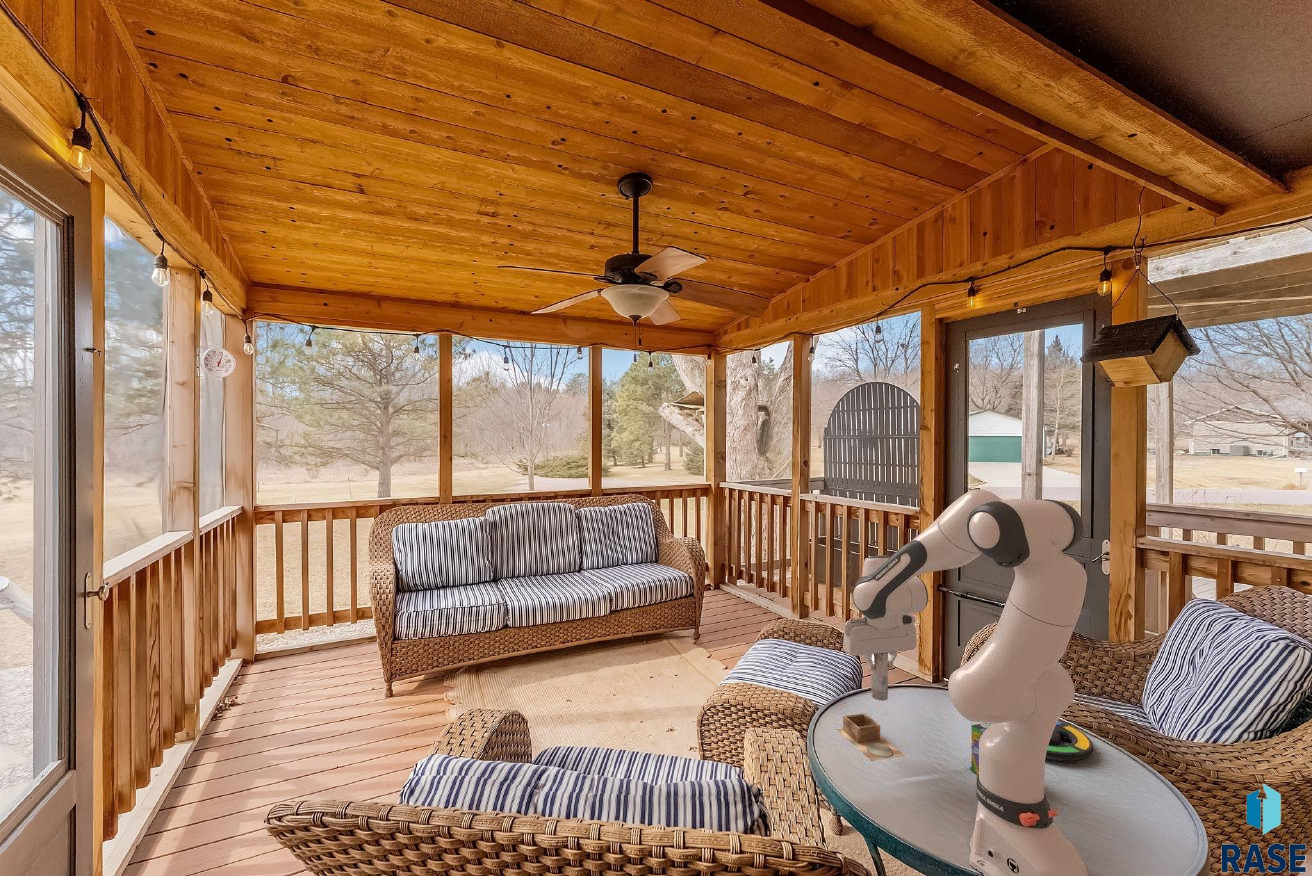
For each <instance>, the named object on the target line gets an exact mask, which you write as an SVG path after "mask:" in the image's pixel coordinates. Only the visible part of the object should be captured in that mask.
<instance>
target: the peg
mask: <svg viewBox="0 0 1312 876" xmlns="http://www.w3.org/2000/svg"><path fill="white" fill-rule="evenodd" d="M888 655H889V653H888V652H887V653H878V654H872V658H871V662H873V663H875V670H871V698H872V699H874V700H878V701H883V702H884V701H887V700H889V691H888V690H889V668H888Z"/></svg>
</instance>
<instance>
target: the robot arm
mask: <svg viewBox="0 0 1312 876" xmlns="http://www.w3.org/2000/svg"><path fill="white" fill-rule="evenodd" d="M1084 531H1085V526H1084V522H1083V519H1082V517H1081V515H1080V514H1079V513H1078V511H1077V510H1076V509H1075V508H1074V507H1073V506H1071V505H1070V504H1067V503H1065V502H1063V501H1060V500H1054V499H1049V498H1048V499H1047V498H1046V499H1045V498H1043V499H1027V498H1013V499H1005V500H1002V499H1001V498H1000V497H999V495H997V494H995V493H993V492H991V491H989V490H986V489H971V490H969V491H967V492H966V493H964V494H962V495H961V496H960V497H958V498H957V499H956V500H955V501H953V502H952V503H951V504H949V506H948V507H946V508H945V509H944V510H943V512H941V514H940V515H939V516H938V517H937V518H936V519H935V520H934V521H933V522H932V523H931V524H930V525H929V526H928V527H927V528H926V529H924V530H923V531H922V532H921V533H920V534H918V535H917V536H916V537H914V538H913V539H912V540H910V541H909V542H907V543H906V544H904V545H903V546H901V548H899V549H898V550H896V552H894V553H893V554H892V555H888V554H885V555H883V554H882V555H870V556H867V557H866V558H865V559H864V561H863V566H862V572H861V573H862V574H861V577H860V578H858V579H857V581H856V583H855V584H854V587H853V590H852V601H853V604H854V606H855V608H856V609H857V610H858V611H859V613H861V617H857V618H849V619H848V620H847V621H846V622H845V624H844V634H843V641H842V648H843V651H844V652H845V653H846V654H847V655H849V656H851V657H857V656H862V657H863V659H864V661H865V662H866V670H868V671H871V672H872V670H875V663H873V662H872V654H878V653H887V652H888V669H893V668H894V662H895V660H896V658H897V657H898V652H906V651H913V650H915V648H916V647H917V645H918V644H917V642H918V641H917V639H918V638H917V629H916V626H915V622H916V617H915V616H914V614H916V613H922V612H923V611H924V610H925V609H926V607H927V605H928V602H929V591H928V588H927V585H926V584H925V582H924V581H923V580H922V579H921V578H920V577H919V576H921V575H925V574H928V573H933V572H938V571H946V570H951V569H956V568H961V567H963V566H966V565H967V564H969V563H972V561H974V560H976V559H977V558H978V557H980V556H981V554H983V555H985V556H986V557H988V558H990V559H992V560H993V561H994V562H995V564H997V566H999V567H1001V568H1004V569H1011V568H1013V570H1014V580H1013V583H1012V586H1011V588H1010V591H1009V594H1008V596H1007V599H1006V602H1005V604H1004V607H1003V609H1002V612H1001V614H1000V618H999V619H998V623H997V625H996V626H995V628H994V630H993V631H992V633H991V634H990V636H989V637H988V639H986V641H985V642H984V643H983V644H982V646H981V647H980V648H979V649H978V650H977V652H976V653H975V654H974V655H973V656H972V657H971V658H970V659H969V660H968V661H967V662H966V663H965V664H963V665H962V666H960V667H959V668H957V669H955V670H954V671H953V672H952V673H951V674H950V676H949V679H948V684H947V685H948V686H947V689H948V695H949V698H950V701H951V703H952V705H953V706H954V708H955V710H956V711H957V712H958V713H959V715H961V716H962V717H963V718H965V719H966V720H968V721H969V722H973V723H979V724H983V723H991V725H990V726H989V727H988V728H987V729H986V730H985V731H984V733H983V734H982V736H981V738H980V741H979V774H978V775H977V774H976V775H977V776H976V780H975V781H976V783H975V792H976V793H975V794H976V799H977V807H976V813H975V819H974V821H975V822H974V827H973V831H972V834H971V837H970V839H969V849H970V854H969V859H968V863H969V866H971V867H972V868H974V869H975V870H976V869H977V870H976V871H977V872H979V873H980V872H982V873H983V874H986V875H987V876H1089V873H1088V869H1087V866H1086V864H1085V862H1084V861H1083V859H1082V857H1081V856H1080V855H1079V854H1078V849H1077V847H1076V845H1075V844H1074V843H1073V842H1071V841H1069V840H1068V839H1067V837H1066V836H1065V835H1064V833H1063V832H1062V830H1061V829H1060V828H1059V827H1058V825H1057V824H1056V822H1055V821H1054V818H1055V817H1058V816H1059V814H1057V813H1058V812H1059V810H1058V809H1057V808H1056V809H1051V807H1050V803H1049V800H1048V796H1047V795H1046V792H1045V776H1046V775H1045V774H1046V773H1045V770H1046V759H1045V758H1046V752H1047V748H1048V745H1049V742H1050V739H1051V736H1052V733H1053V731H1054V728H1055V726H1056V724H1057V722H1058V720H1059V719H1060V718H1061V716H1062V715H1063V714H1064V711H1066V709H1068V707H1069V706H1071V704H1072V703H1073V702H1074V698H1075V696H1076V695H1075V692H1076V691H1075V690H1076V689H1075V685H1074V683H1073V680H1072V677H1071V676H1070V673H1069V672H1068V671H1067V670H1066V669H1065V668H1064V667H1063V666H1062V665H1061V664H1060V663H1059V661H1060V659H1062V658H1063V656H1064V655H1065V651H1066V650H1067V647H1068V644H1069V642H1070V639H1071V637H1072V635H1073V632H1074V629H1075V628H1076V625H1077V622H1078V620H1079V617H1080V614H1081V612H1082V609H1083V606H1084V600H1085V597H1086V590H1087V584H1088V583H1087V582H1088V576H1087V572H1086V569H1085V568H1084V567H1083V565H1082V564H1080V562H1078V561H1077V560H1076V559H1074V558H1073V557H1072V556H1069V555H1067V554H1065V552H1067V551H1070V550H1071V549H1073V548H1075V547H1076V546H1078V544H1079V543H1080V542H1081V541H1082V539H1083V536H1084ZM982 873H981V874H982ZM983 874H982V875H983Z"/></svg>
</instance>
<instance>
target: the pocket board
mask: <svg viewBox="0 0 1312 876" xmlns="http://www.w3.org/2000/svg"><path fill="white" fill-rule="evenodd" d="M836 731H837V732H838V733H839V734H841V735H842V737H844V738H845V739H846V740H847V741H849V743H851V744H852V745H853V746H855V748H856V749H857V750H859V751H860V752H861V753H862V754H863V755H864V756H865V757H866V758H867V759H868V760H870V761H871V762H872V761H877V760H878V761H879V760H884V759H891V758H897V757H902V756H905V754H904V753H903V752H902V751H900V750H899V749H898V748H897V747H895V746H894V745H893V744H892V743H891V742H889V741H888V740H887V739H886V738H884V737H883V736H881V724H879V723H878V722H877V721H875V720H874V719H873V718H872V717H871V716H869V715H867V714H866V713H857V714H850V715H843V716H842V728H837V729H836Z"/></svg>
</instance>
